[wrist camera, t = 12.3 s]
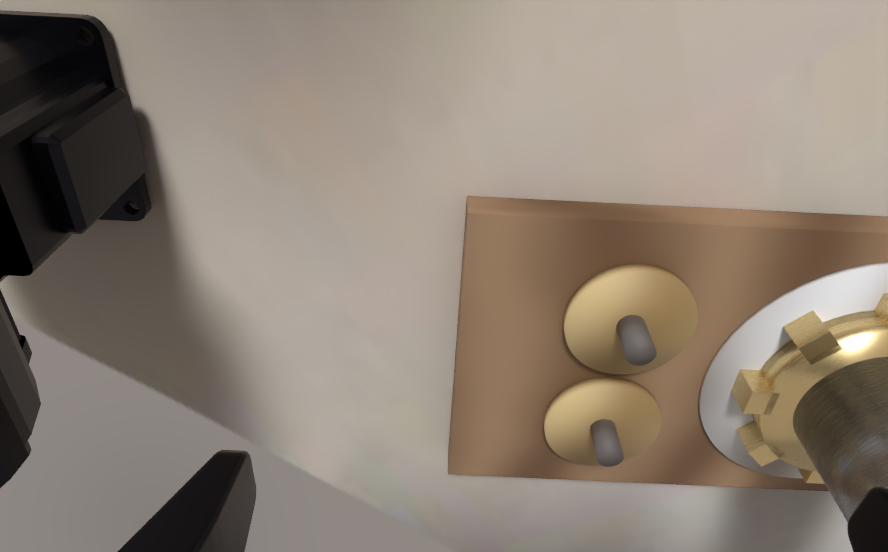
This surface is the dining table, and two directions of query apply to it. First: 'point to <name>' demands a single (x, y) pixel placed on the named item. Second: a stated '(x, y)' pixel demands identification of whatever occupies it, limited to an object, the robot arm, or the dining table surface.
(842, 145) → the dining table surface
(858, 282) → the gear board
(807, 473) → the loose gear
